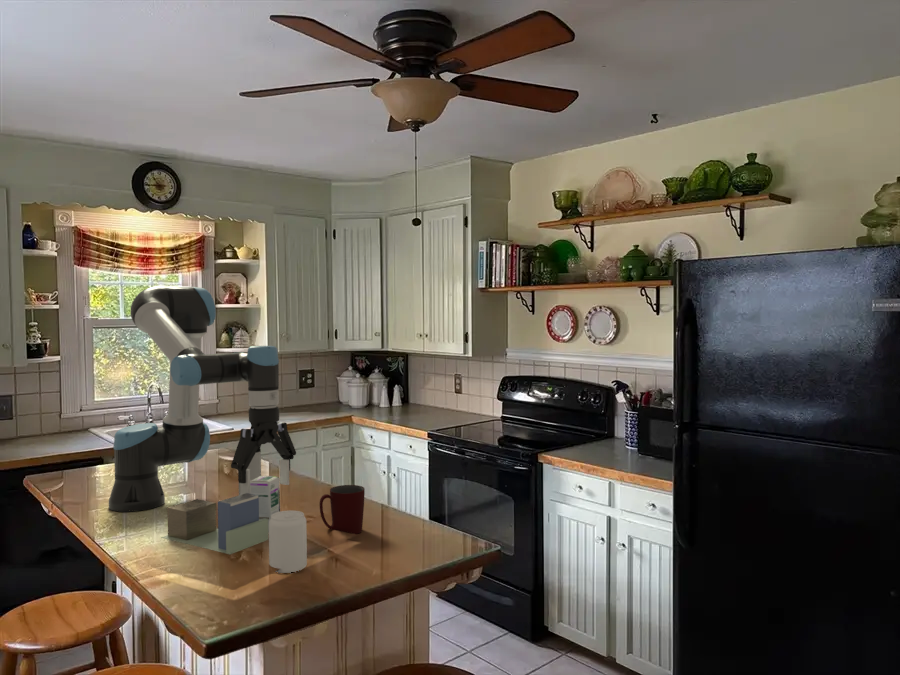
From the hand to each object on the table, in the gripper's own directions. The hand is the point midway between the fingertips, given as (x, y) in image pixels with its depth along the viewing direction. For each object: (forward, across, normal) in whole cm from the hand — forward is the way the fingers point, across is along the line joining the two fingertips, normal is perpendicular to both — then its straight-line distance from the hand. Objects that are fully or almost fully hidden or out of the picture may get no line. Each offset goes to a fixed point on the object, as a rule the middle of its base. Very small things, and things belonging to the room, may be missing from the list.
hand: (265, 489), depth 179 cm
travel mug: (+11, +15, +22) cm, 29 cm away
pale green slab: (+12, -12, +6) cm, 17 cm away
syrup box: (+12, 0, 0) cm, 12 cm away
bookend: (+10, -12, +13) cm, 20 cm away
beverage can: (+12, -15, -22) cm, 29 cm away
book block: (+10, -12, -3) cm, 16 cm away
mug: (+12, +11, -16) cm, 22 cm away
